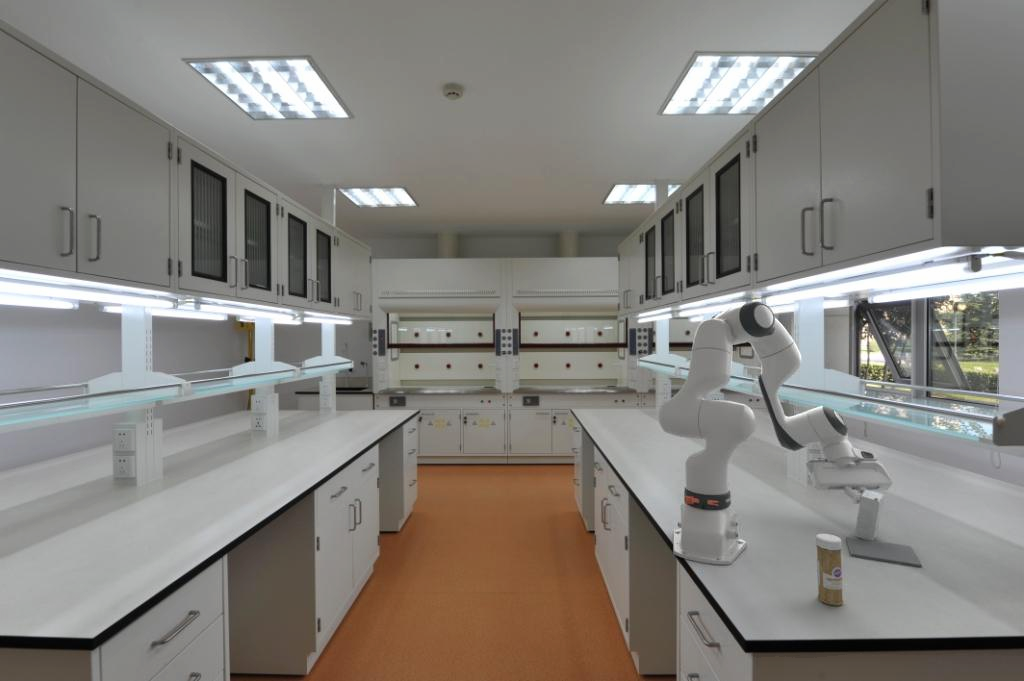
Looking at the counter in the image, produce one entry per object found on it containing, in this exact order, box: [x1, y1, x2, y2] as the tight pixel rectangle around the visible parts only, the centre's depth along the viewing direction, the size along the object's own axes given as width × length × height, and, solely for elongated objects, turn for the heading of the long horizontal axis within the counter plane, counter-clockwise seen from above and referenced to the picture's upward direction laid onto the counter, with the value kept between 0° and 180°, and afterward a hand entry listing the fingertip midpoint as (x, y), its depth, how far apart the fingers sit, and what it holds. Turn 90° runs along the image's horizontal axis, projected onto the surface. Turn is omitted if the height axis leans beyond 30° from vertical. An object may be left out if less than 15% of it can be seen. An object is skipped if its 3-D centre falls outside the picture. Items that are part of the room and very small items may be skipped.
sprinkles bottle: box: [815, 533, 844, 607], centre depth 102 cm, size 5×5×14 cm
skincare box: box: [854, 490, 885, 541], centre depth 133 cm, size 6×4×12 cm
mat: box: [845, 536, 923, 568], centre depth 124 cm, size 12×14×1 cm
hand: (860, 502), depth 136 cm, fingers closed
